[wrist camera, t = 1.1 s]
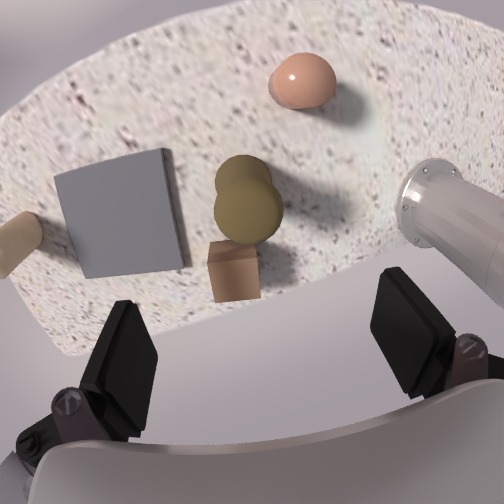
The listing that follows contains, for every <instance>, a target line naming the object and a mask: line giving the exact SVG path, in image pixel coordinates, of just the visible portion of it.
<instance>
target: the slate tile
mask: <svg viewBox="0 0 504 504" xmlns="http://www.w3.org/2000/svg"><path fill="white" fill-rule="evenodd" d="M54 180H55V185H56V189H57V193H58V197H59V201H60V204H61V208H62V212H63V215H64V219H65V222H66V225H67V228H68V232H69V235H70V238H71V241H72V244H73V247H74V249H75V252H76V255H77V258H78V261H79V263H80V266H81V268H82V271H83V274H84V276H85V279H90V278H101V277H110V276H120V275H130V274H140V273H149V272H159V271H168V270H178V269H184V266H185V263H184V258H183V254H182V249H181V245H180V240H179V236H178V231H177V226H176V221H175V216H174V211H173V206H172V201H171V195H170V190H169V184H168V179H167V173H166V167H165V161H164V154H163V148H158V149H153V150H148V151H143V152H139V153H134V154H130V155H125V156H121V157H117V158H113V159H109V160H105V161H102V162H98V163H94V164H91V165H87V166H84V167H80V168H77V169H74V170H70V171H67V172H64V173H61V174H58V175H56V176H54Z"/></svg>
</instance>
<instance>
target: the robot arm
mask: <svg viewBox="0 0 504 504" xmlns="http://www.w3.org/2000/svg"><path fill="white" fill-rule="evenodd" d="M397 219H398V224H399V227H400V229H401V232H402V233H403V235H404V236H405V238H406V239H407V240H409V241H410V242H411V243H412V244H413V245H415V246H418V247H420V248H431V247H435V248H436V249H437V250H438V251H440V252H441V253H442V254H443V255H445V256H446V257H447V258H448V259H449V260H450V261H451V262H453V263H454V264H455V265H456V266H457V267H458V268H459V269H460V270H461V271H463V272H464V273H465V274H466V275H467V276H468V277H469V278H470V279H471V280H472V281H473V282H474V283H476V284H477V285H478V286H479V287H480V288H481V289H482V290H483V291H484V292H485V293H486V294H487V295H488V296H489V297H490V298H491V299H492V300H493V301H494V302H495V303H496V304H497V305H499V306H500V307H502V308H503V309H504V199H503V198H501V197H499V196H497V195H495V194H493V193H491V192H489V191H487V190H485V189H483V188H481V187H478V186H476V185H474V184H472V183H470V182H468V181H465V180H463V177H462V175H461V173H460V172H459V170H458V169H457V168H456V167H455V166H454V165H453V164H452V163H450V162H448V161H446V160H443V159H440V158H432V159H427V160H425V161H423V162H421V163H420V164H418V165H417V166H416V167H414V169H413V170H412V171H411V172H410V173H409V175H408V176H407V178H406V179H405V181H404V183H403V185H402V188H401V190H400V194H399V197H398V204H397ZM370 329H371V332H372V334H373V336H374V338H375V340H376V341H377V343H378V345H379V347H380V349H381V351H382V352H383V354H384V356H385V358H386V360H387V362H388V363H389V365H390V367H391V369H392V371H393V373H394V374H395V377H396V379H397V380H398V382H399V384H400V386H401V388H402V390H403V392H404V393H405V394H407V393H408V395H409V397H410V399H413V398H416V397H418V396H421V395H423V397H424V400H422V401H420V402H417V403H414V404H412V405H409V406H406V407H404V408H401V409H398V410H395V411H393V412H390V413H387V414H384V415H381V416H378V417H374V418H371V419H368V420H365V421H361V422H357V423H354V424H350V425H347V426H342V427H339V428H334V429H330V430H326V431H321V432H316V433H312V434H307V435H301V436H296V437H289V438H283V439H276V440H268V441H261V442H250V443H239V444H224V445H159V444H141V443H130V442H128V438H129V437H138V438H140V435H141V431H144V430H145V427H146V419H147V414H148V408H149V403H150V397H151V392H152V386H153V381H154V376H155V371H156V366H157V361H158V355H157V351H156V349H155V347H154V345H153V342H152V340H151V338H150V335H149V333H148V331H147V328H146V326H145V323H144V321H143V319H142V316H141V314H140V311H139V309H138V306H137V304H135V303H133V302H132V301H131V300H121V301H116V302H115V304H114V306H113V308H112V310H111V312H110V314H109V316H108V318H107V321H106V323H105V325H104V327H103V329H102V331H101V334H100V336H99V338H98V340H97V343H96V345H95V347H94V350H93V352H92V354H91V357H90V359H89V362H88V364H87V367H86V369H85V371H84V374H83V377H82V379H81V382H80V386H79V388H75V387H67V388H65V389H62V390H61V391H59V392H58V393H57V394H56V395H55V397H54V398H53V401H52V404H51V410H52V413H51V414H50V415H48V416H47V417H45V418H43V419H42V420H40V421H39V422H37V423H36V424H34V425H32V426H31V427H29V428H27V429H26V430H24V431H23V432H22V433H20V435H19V436H18V438H17V441H16V453H15V452H14V451H12V452H11V453H10V454H9V455H8V456H7V458H6V459H5V460H4V461H3V462H2V463H1V465H0V504H504V358H500V357H497V356H494V355H491V354H488V349H487V346H486V344H485V342H484V341H483V340H482V339H481V338H480V337H478V336H477V335H474V334H468V333H466V334H462V335H460V336H459V337H458V338H456V336H455V333H456V331H455V330H454V329H453V327H452V326H451V325H450V324H449V322H448V321H447V320H446V319H445V318H444V317H443V315H442V314H441V313H440V312H439V310H438V309H437V308H436V307H435V306H434V305H433V303H431V301H430V300H429V299H428V298H427V297H426V295H425V294H424V293H423V292H422V291H421V290H420V289H419V288H418V286H417V285H416V284H415V283H414V282H413V281H412V280H411V279H410V278H409V277H408V275H407V274H405V272H404V271H403V270H402V269H401V268H400V267H392V268H386V269H385V270H384V272H383V273H381V275H380V279H379V284H378V290H377V295H376V300H375V305H374V310H373V314H372V319H371V323H370Z"/></svg>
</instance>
